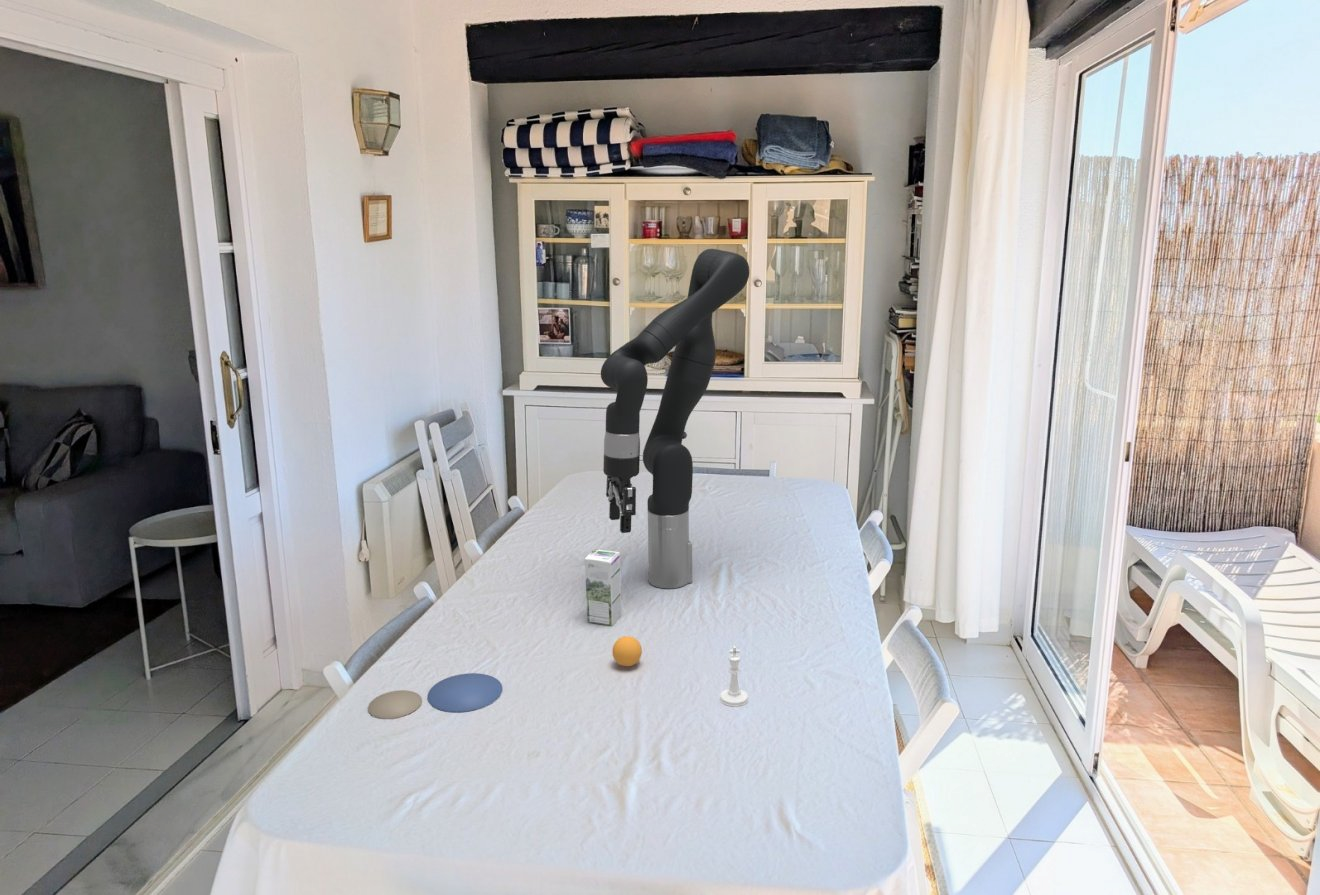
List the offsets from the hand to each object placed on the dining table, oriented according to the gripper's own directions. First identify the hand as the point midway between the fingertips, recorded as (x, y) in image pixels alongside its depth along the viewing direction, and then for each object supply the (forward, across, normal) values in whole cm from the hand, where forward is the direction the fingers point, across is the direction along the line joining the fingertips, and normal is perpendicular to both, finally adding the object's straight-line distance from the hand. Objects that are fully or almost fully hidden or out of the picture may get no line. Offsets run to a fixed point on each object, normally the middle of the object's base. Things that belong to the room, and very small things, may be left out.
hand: (619, 525), depth 195 cm
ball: (+15, -28, +6) cm, 32 cm away
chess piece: (+17, -46, -8) cm, 50 cm away
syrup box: (+18, -8, +5) cm, 20 cm away
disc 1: (+19, -28, +48) cm, 59 cm away
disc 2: (+19, -28, +36) cm, 50 cm away
